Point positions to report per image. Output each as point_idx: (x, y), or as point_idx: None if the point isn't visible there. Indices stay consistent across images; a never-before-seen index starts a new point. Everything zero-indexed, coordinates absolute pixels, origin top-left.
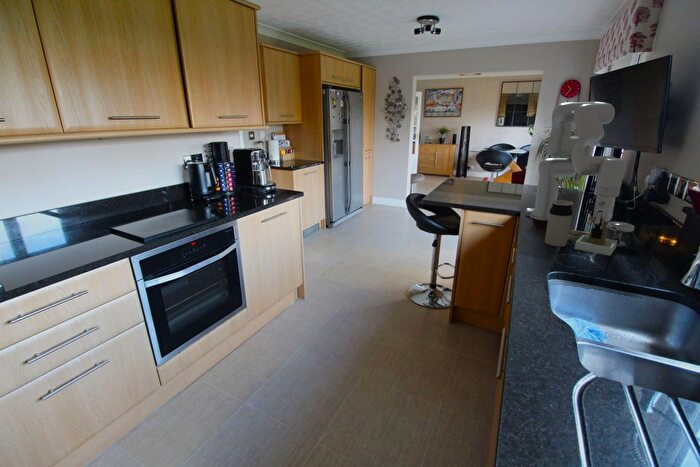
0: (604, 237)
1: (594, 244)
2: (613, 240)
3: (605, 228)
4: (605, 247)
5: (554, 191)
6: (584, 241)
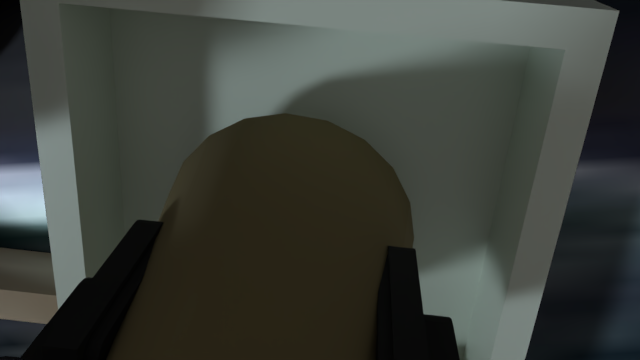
0: (327, 202)
1: (522, 261)
2: (57, 20)
3: (277, 342)
4: (586, 106)
5: None
6: None
